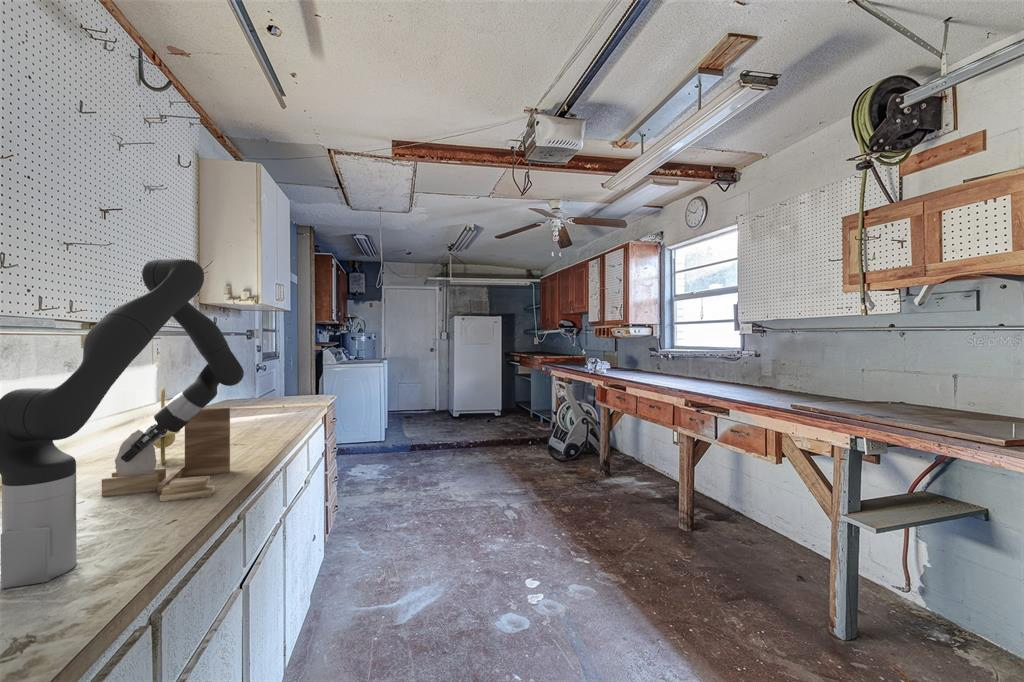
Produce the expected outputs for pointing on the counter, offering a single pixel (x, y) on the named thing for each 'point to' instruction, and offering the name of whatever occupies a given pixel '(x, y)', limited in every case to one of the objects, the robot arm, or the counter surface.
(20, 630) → the counter surface
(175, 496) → the offcut stack
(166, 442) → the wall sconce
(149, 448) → the stone tool
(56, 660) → the counter surface
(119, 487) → the holder
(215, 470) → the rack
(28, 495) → the robot arm
